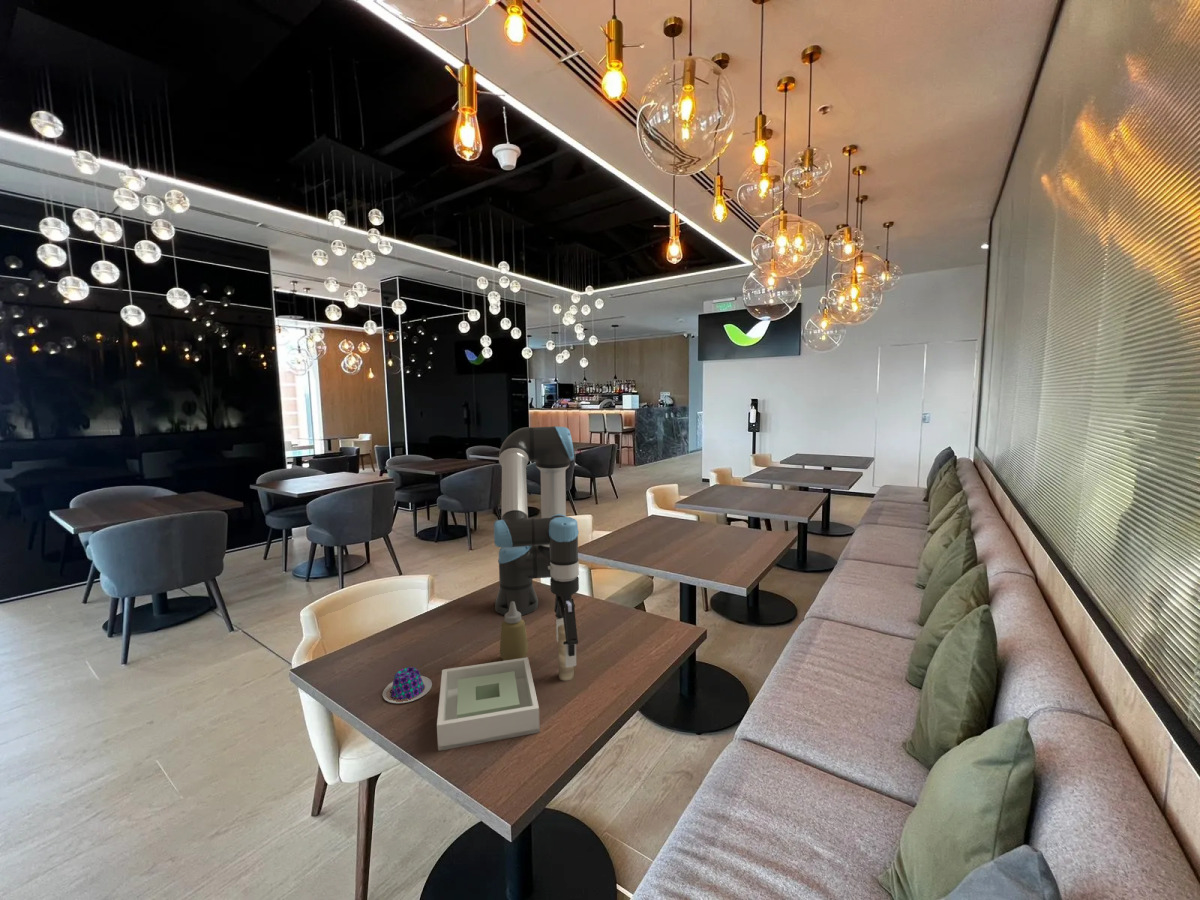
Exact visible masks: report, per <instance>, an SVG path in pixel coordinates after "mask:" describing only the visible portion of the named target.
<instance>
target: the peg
mask: <svg viewBox="0 0 1200 900" xmlns="http://www.w3.org/2000/svg"><path fill="white" fill-rule="evenodd" d="M564 641H566V637H565V629H564V624H563V625H560V626H559V627H558V642H557V648H558V650H557V651H558V678H559V680H561V681H564V682H567V681H571V680H573V679H574V678H575V676H574V675H575V674H574V667H575V666H572V667H566V666H565V645H564V644H563V642H564Z"/></svg>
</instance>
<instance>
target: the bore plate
mask: <svg viewBox="0 0 1200 900" xmlns="http://www.w3.org/2000/svg"><path fill="white" fill-rule="evenodd" d="M517 708H520V704H519V698H518V691H517V685H516V679H515V672H514V671H512V672H506V673H499V674H492V675H486V676H479V677H473V678H466V679H459V680H458V698H457V719H458V718H464V717H469V716H475V715H481V714H487V713H493V712H499V711H505V710H511V709H517Z"/></svg>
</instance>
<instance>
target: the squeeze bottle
mask: <svg viewBox="0 0 1200 900" xmlns="http://www.w3.org/2000/svg"><path fill="white" fill-rule="evenodd" d="M499 640H500V641H499V653H500V656H501V659H502V661H506V660H513V659H519V658H526V657H527V654H528V652H529V644H528V638H527V630H526V623H525V620H524V619H522V615H521V613H520V612H518V611H517V609H516V606H515V602H514V601H512V602H510V607H509V612H507V613H506V614H505V615H504V620H503V621H502V623H501V627H500V639H499Z"/></svg>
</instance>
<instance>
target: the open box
mask: <svg viewBox="0 0 1200 900" xmlns="http://www.w3.org/2000/svg"><path fill="white" fill-rule="evenodd" d="M512 671H514V672H515V679H516V685H517V691H518V698H519V704H520V708H517V709H511V710H505V711H499V712H493V713H487V714H481V715H475V716H469V717H464V718H458V719H457V698H458V680H459V679H466V678H473V677H479V676H486V675H492V674H499V673H506V672H512ZM440 678H441V679H440V689H439V690H440V691H439V702H438V708H437V719H436V733H437V734H436V735H437V738H436V739H437V750H438V751H437V752H440V751H446V750H451V749H453V750H454V749H457V748H462V747H463V748H464V747H469V746H474V745H479V744H484V743H485V744H486V743H490V742H495V741H501V740H507V739H510V738H516V737H517V738H518V737H522V736H527V735H529V736H530V735H534V734H539V733H540V731H541V730H540V728H541V727H540V707H539V706H540V705H539V702H538V698H537V694H536V693H537V692H536V688H535V683H534V680H533V675H532V670H531V666H530V660H529V657H527V656H526V658H519V659H513V660H506V661H503V660H498V661H493V662H485V663H480V664H478V663H477V664H472V665H466V666H458V667H452V668H445V669H441V677H440Z"/></svg>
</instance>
